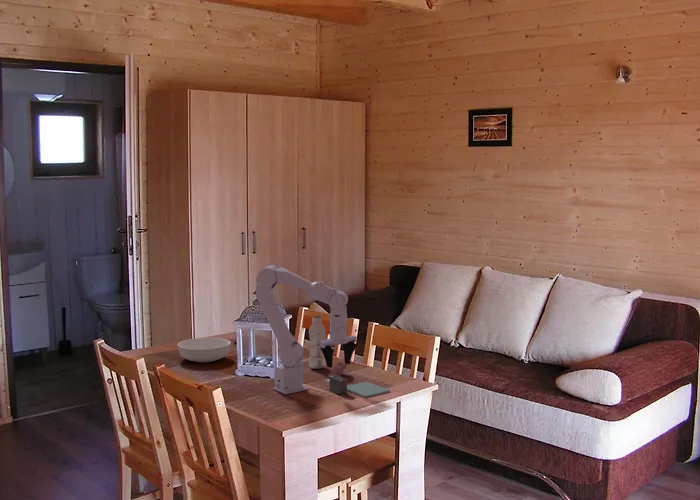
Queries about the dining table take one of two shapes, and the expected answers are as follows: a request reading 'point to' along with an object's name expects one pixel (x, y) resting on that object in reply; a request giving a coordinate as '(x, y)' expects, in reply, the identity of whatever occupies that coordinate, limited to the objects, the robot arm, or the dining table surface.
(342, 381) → the connector plug
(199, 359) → the serving bowl
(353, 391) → the rubber mat
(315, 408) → the dining table surface
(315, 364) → the plastic bottle
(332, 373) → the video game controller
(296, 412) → the dining table surface
